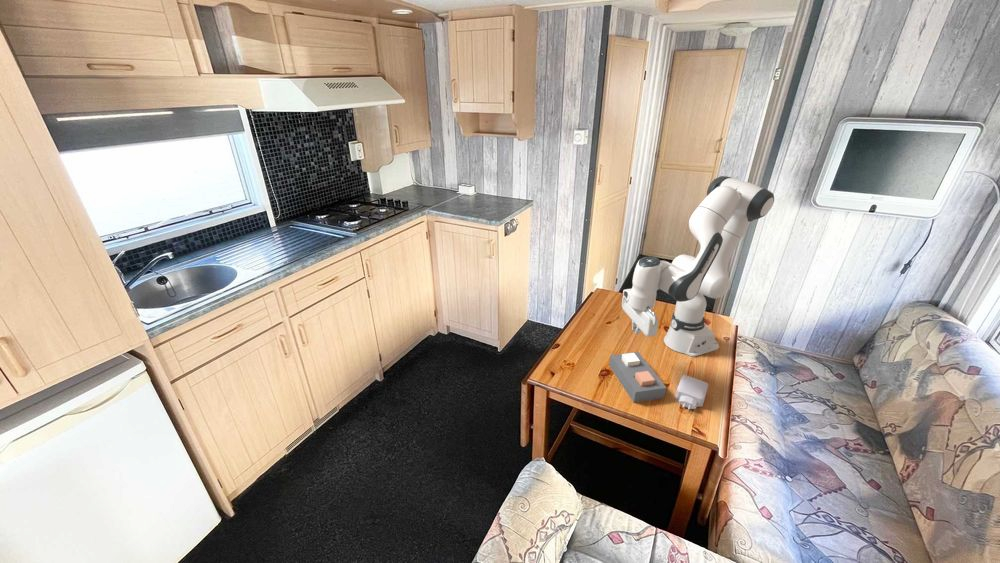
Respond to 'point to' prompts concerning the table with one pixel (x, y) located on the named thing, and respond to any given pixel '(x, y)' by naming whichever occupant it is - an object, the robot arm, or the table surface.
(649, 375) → the terracotta key
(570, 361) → the table surface
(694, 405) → the charger
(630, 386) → the console
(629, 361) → the white key
